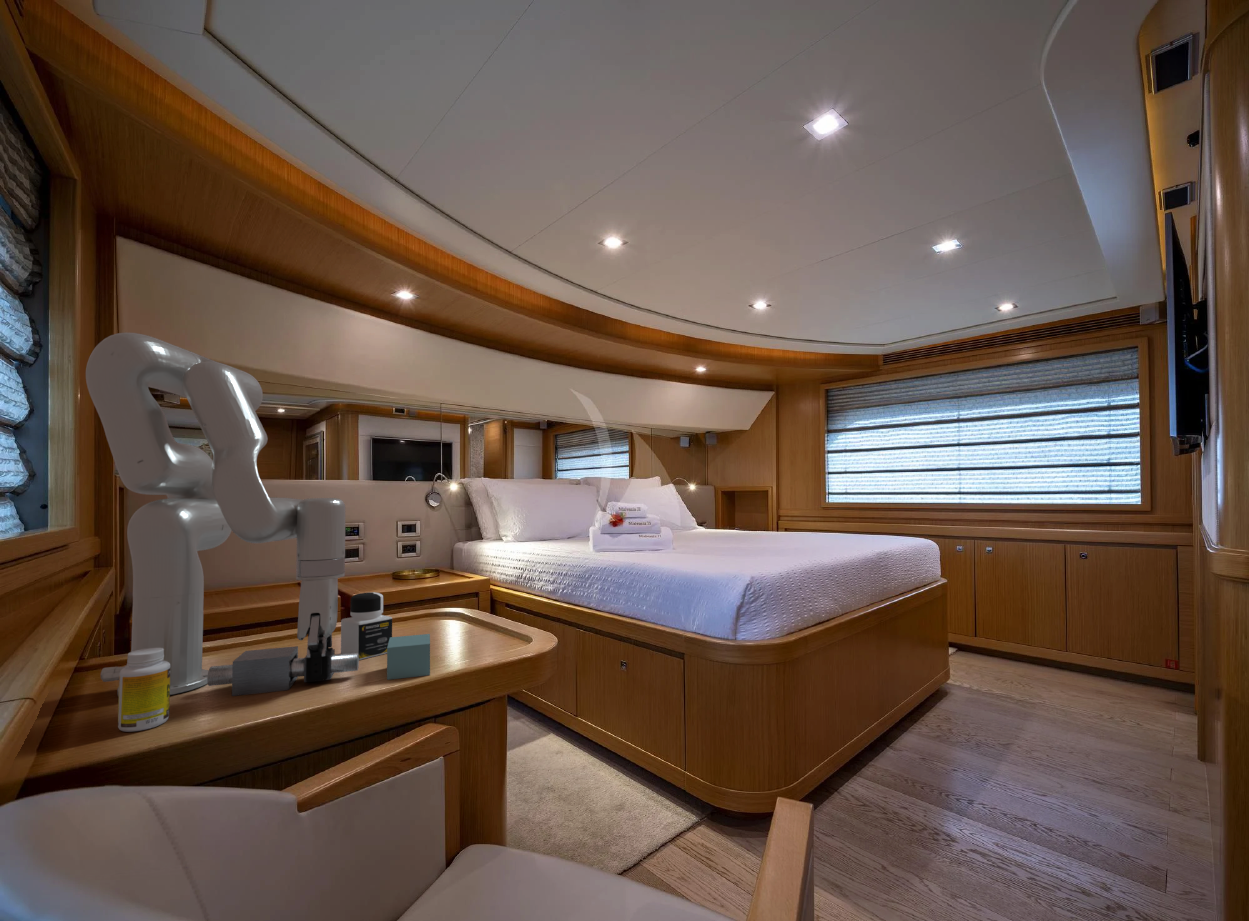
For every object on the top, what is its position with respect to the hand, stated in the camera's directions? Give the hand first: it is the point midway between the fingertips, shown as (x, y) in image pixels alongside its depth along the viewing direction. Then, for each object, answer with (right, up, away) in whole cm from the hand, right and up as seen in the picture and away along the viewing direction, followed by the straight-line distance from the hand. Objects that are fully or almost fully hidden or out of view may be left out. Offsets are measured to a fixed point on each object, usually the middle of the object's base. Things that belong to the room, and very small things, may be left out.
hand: (319, 675), depth 100 cm
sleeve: (-8, -1, -3) cm, 8 cm away
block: (+14, -1, +5) cm, 15 cm away
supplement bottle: (-15, 0, -19) cm, 24 cm away
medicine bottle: (+1, -2, +17) cm, 17 cm away
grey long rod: (-5, 0, -2) cm, 5 cm away
